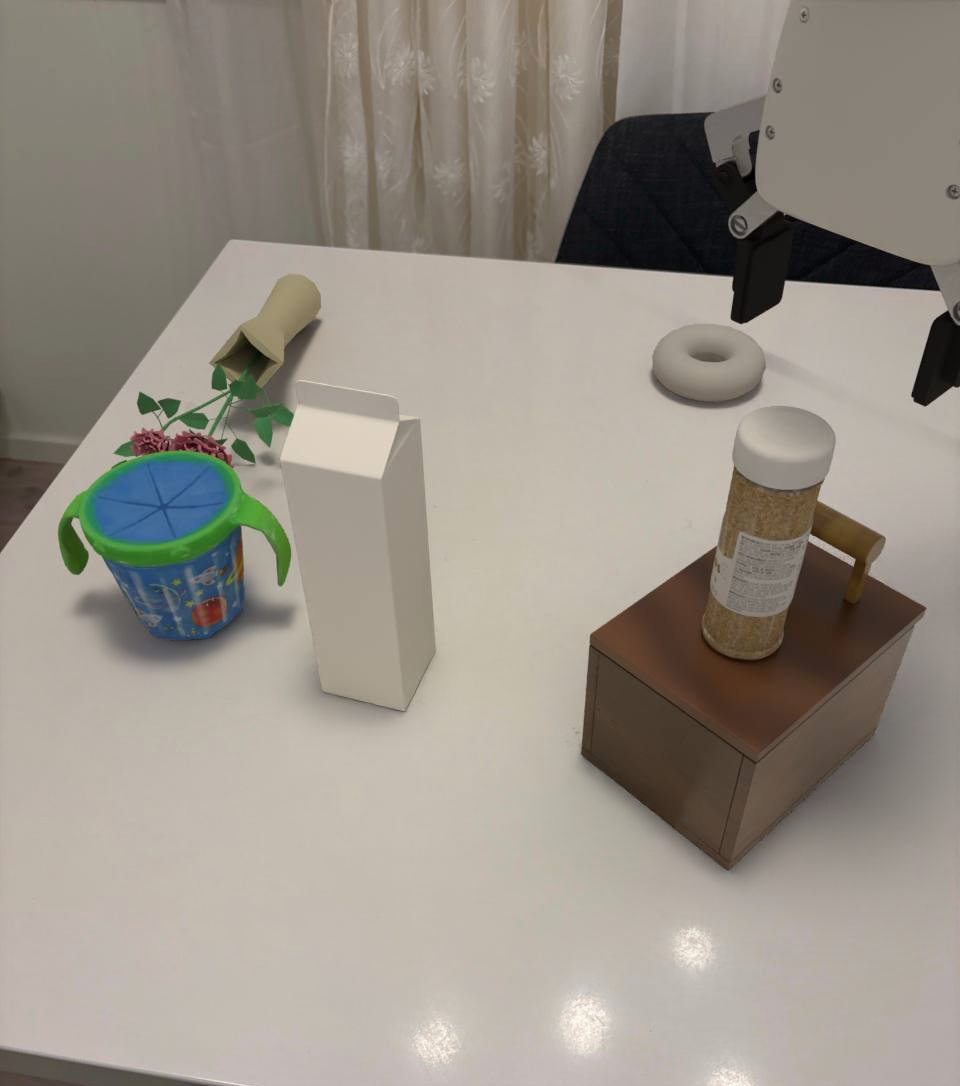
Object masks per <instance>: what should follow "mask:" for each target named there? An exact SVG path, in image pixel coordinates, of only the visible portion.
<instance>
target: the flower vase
mask: <svg viewBox="0 0 960 1086" xmlns="http://www.w3.org/2000/svg"><path fill="white" fill-rule="evenodd" d="M321 309H322V295H321V293H320V291H319V289H318V287H317V286H316V283H315V282H314V281H312V280H311V279H309V278H308V277H306V276H305V275H303V274H298V273H288V274H285V275H284V276H282V277H280V278H278V279H277V280H276V282H275V284H274V286H273V288H272V290H271V291H270V293H269V295H268V297H267V298H266V300H265V302H264V304H263V305H262V307H261V309H260V311H259V312H258V314H257V315H256V316H254V317H252V318H250V319H249V320H247V321H245V322H243V323H241V324H239V326H238V327H237V328H236V329H235V330H234V332H233V333H232V334H231V336H230V337H229V338H228V339H227V340H226V341H225V343H224V344H223V346H222V347H220V349H219V350H218V351H217V352H216V354H215V355H214V356H213V357H212V359H210V361H209V362H208V364H209V365H211V366H212V367H213V368H214V369H213V372H212V375H211V383H210V384H211V389H212V390H215V391H217V392H221V394H219V395H217V396H216V397H213V398H211V399H210V400H208V401H206V402H204V403H202V404H200V405H198V406H196V407H194V408H192V409H190V410H188V411H185V412H183V413H181V414H178V415H177V416H175V415H176V414H177V413H178V410H179V409H180V405H181V403H182V400H181V399H176V398H170V397H166V398H163V399H159V400H158V401H156V400H155V399H154V398H153V397H151V396H149V395H147V394H145V393H144V392H142V391H139V392H138V396H137V401H136V406H137V408H138V411H139V413H140V415H141V416H143V415H147V414H149V413H153V415H154V416H155V417H156V419H157V420H158V422H159V426H160V429H159V430H154V429H155V428H151V429H150V430H147V429H146V428H145V427H142V428H141V429H140V432H137V431H136V430H135V431H134V432H133V435H132V436H131V437H130V438H129V441H127V442H124V443H122V444H121V445H119V447H118V448H117V449H116V450H115V451H114V452H113V453H112V455H117V456H119V457H120V456H121V457H125V458H128V457H130V458H131V457H135V458H137V457H141V456H144V455H148V454H153V453H158V452H166V451H193V452H199V453H204V454H208V455H210V456H213V457H216V458H218V459H220V460H222V461H223V462H225V463H226V464H228V465H229V466H230V467H231V468H232V469H234V468H235V466H234V464H232V461H233V454H232V453H229V454H227V452H226V450H227V447H226V446H225V445H224V444H225V443H226V442H227V441H228V438H223V437H224V434H225V433H224V432H225V429H226V425H227V427H228V428H229V430H230V431H231V432H232V434H233V435H234V437H235V440H234V441H233V443H231V445H230V447H231V449H232V450H233V452H234V453H235V454H236V455H238V456H239V457H240V458H241V459H242V460H244V461H247V462H250V463H252V464H255V465H256V464H257V462H256V456H255V453H254V452H253V451H252V450H251V448H250V447H249V445H248V443H247V442H246V441H245V440H242V439H240V438H238V437H237V435H236V434H235V432H234V430H232V429H231V427H230V425H229V423H228V422H227V420H228V417H229V413H230V410H231V408H235V409H241V410H246V411H249V412H250V413H251V414H252V415H254V416H255V417H257V418H255V419H254V420H253V424H254V429H255V431H256V434H257V436H258V438H259V439H260V440H261V441H262V442H263V443H264V444H265V445H266V446H267V447H268V448H269V449H271V445H272V441H273V436H274V433H273V424H272V421H274V422H275V423H276V424H279V425H282V426H284V427H287V428H288V427H289V428H290V426H291V423H292V420H293V417H294V414H295V413H293V412H292V411H290V410H289V409H288V408H287V407H286V406H284V405H283V402H278V403H273V404H271V403H272V402H270V399H269V397H268V394H267V393H266V391H265V389H263V387H264V386H265V385H266V384H267V383H268V381H269V380H270V379H271V378H272V377H273V376H274V375H275V373H276V372H277V371H278V370H279V369H280V368H281V367H282V365H283V364H284V363H285V361H284V360H285V348H286V346H287V345H288V344H289V343H290V342H291V340H293V338H294V337H295V336H296V335H297V334H298V333H299V332H301V331H302V330H303V329H304V328H305V327H307V326H308V325H310V324H311V322H313V321H314V320H316V318H317V316H318V314H319V312H320V310H321ZM227 380H228V381H229V382H230V383H228V381H227ZM228 388H229V389H228ZM224 391H225V392H224ZM263 393H264V394H263ZM258 394H261V398H262V406H261V407H258V408H246V407H240V406H234V404H236V403H239V402H241V401H255V400H257V395H258ZM228 395H229V396H228ZM263 395H265V397H266V399H267V401H268V403H269V404H267V405H265V402H264V396H263ZM224 397H226V400H225V402H224V403H223V405H222V407H221V409H220V410H219V413H218V414H217V417H216V418H211V419H209V418H208V417H207V416H206V414H205V413H204V412H198V411H200V410H201V409H204V408H205V407H207V406H209V405H211V404H213V403H214V402H217V401H219V400H220V399H222V398H224ZM234 397H237V399H238V400H236V401H234V402H233V400H234ZM227 409H228V410H227ZM160 410H161V411H160ZM226 410H227V414H226V416H224V414H225V412H226ZM157 411H160V412H159V414H158V415H157V413H156V412H157ZM163 412H164V414H165V416H166V418H167V419H168V420H169V419H170V420H169V421H167V423H165V424H164V425H163V424H162V421H161V420H160V418H159V417H160V416H161V414H162V413H163ZM270 415H271V416H270ZM223 416H224V417H223ZM171 418H172V419H171ZM223 419H224V421H225V422H224V425H223V429H222V433H221V438H220V439H215V437H213V434H214V433H215V430H216V429H217V427H218V425H219V423H220V421H221V420H223ZM213 420H214V422H213V424H212V426H211V428H210V430H209V432H208V434H207V435H205V434H202V433H201V432H200V431H199V432H196V433H195V431H193V430H192V428H193V429H196V430H203V431H204V430H206V428H207V426H208V425H209V422H210V421H213ZM177 421H180V422H182V423H183V424H184V425H185V426H187V427H188V431H187V430H182V431H181V433H182V434H179V432H176V433H175V437H174V438H172V437H171V435H165V432H166V430H167V429H168V428H169V427H170V425H172V424H173V423H175V422H177ZM127 461H128V460H127V459H124V460H121V461H119V462H118V463H116V464H115V465H113V466H111V469H112V468H114V467H116V466H118V465H120V464H122V463H124V462H127ZM111 469H110V470H111Z"/></svg>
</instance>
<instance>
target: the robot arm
mask: <svg viewBox="0 0 960 1086" xmlns="http://www.w3.org/2000/svg"><path fill="white" fill-rule="evenodd" d="M779 35H780V36H779V39H778V44H777V47H776V52H775V56H774V60H773V64H772V68H771V73H770V77H769V82H768V85H767V91H766V93H764V94H761V95H759V96H755V97H752V98H749V99H747V100H744V101H741V102H738V103H734V104H732V105H728V106H725V107H724V108H722V109H719V110H717V111H715V112H713V113H711V114H709V115H706V117H705V119H704V123H703V126H704V127H703V128H704V132H705V136H706V140H707V144H708V148H709V152H710V156H711V160H712V163H715V168H714V169H715V170H714V172H713V181H714V184H715V186H716V188H717V190H718V193H719V194H720V196H721V198H722V200H723V202H724V203H725V206H726V208H727V209H728V211H729V213H730V215H729V218H728V220H727V222H728V223H727V224H728V229H729V232H730V234H732V236H733V237H734V238H736V239H737V246H736V247H737V248H736V255H735V263H734V269H733V275H732V284H731V290H732V292H733V294H732V295H733V296H732V303H731V309H730V316H729V317H730V320H731V321H732V322H735V323H737V324H739V325H743V324H748V323H749V322H751V321H753V320H754V319H756V318H757V317H759V316H762V315H763V314H765V313H766V312H767V311H769V310H771V309H772V308H775V307H776V306H777V305H779V304H780V303H781V302H782V300H783V296H784V290H785V284H786V280H787V279H786V278H787V273H788V267H789V262H790V256H791V250H792V245H793V240H794V229H793V227H794V222H793V221H790V220H788V219H785V218H786V217H785V216H786V215H788V216H790V217H793V218H795V219H797V220H800V221H803V222H805V223H808V224H811V225H813V226H816V227H818V228H821V229H824V230H825V231H826V230H827V231H829V232H831V233H835V234H837V235H840V236H843V237H845V238H847V239H851V240H854V241H855V242H859V243H862V244H864V245H867V246H869V247H871V248H872V247H873V248H875V249H877V250H881V251H883V252H886V253H889V254H892V255H894V256H897V257H900V258H903V259H906V260H909V261H912V262H915V263H918V264H922V265H928V266H930V269H931V271H932V273H933V276H934V279H935V281H936V282H937V283H936V284H937V286H938V288H939V291H940V293H941V295H942V296H941V297H942V299H943V300H944V303H945V306H946V308H947V310H945V311H944V312H943V313H941V314H939V315H938V316H936V318H934V320H933V321H932V323H931V325H930V328H929V331H928V335H927V339H926V342H925V345H924V349H923V353H922V356H921V360H920V363H919V366H918V369H917V373H916V376H915V380H914V383H913V386H912V390H911V392H910V393H911V394H910V396H911V398H913V399H912V401H913V402H914V403H916V404H918V405H920V406H922V407H928V406H929V405H930V404H932V403H933V402H934V401H936V400H937V399H938V398H940V397H941V396H942V395H944V394H946V392H948V391H949V390H951V389H953V388H956V389H959V388H960V0H790V2H789V5H788V8H787V11H786V14H785V18H784V22H783V25H782V28H781V32H780V34H779ZM757 131H759V133H758V140H757V148H756V157H754V156H753V155H752V154H750V151H749V150H750V149H751V147H750V142H749V141H750V140H749V137H750V134H751V133H754V132H757Z"/></svg>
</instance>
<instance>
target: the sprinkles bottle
mask: <svg viewBox="0 0 960 1086" xmlns="http://www.w3.org/2000/svg"><path fill="white" fill-rule="evenodd" d="M836 442H837V438H836V433H835V431H834V429H833V427H832V426H831V424H829V422H828V421H827V420H825V419H824V418H823V417H822V416H820V415H818V414H816V413H814V412H812V411H810V410H807V409H804V408H800V407H795V406H788V405H770V406H764V407H760V408H756V409H754V410H752V411H750V412H749V413H747V414H746V415H745V416H744V417H742V419H741V420H740V421H739V423H738V425H737V429H736V432H735V437H734V443H733V447H732V453H731V454H732V455H731V456H732V457H731V459H732V463H733V469H732V475H731V480H730V484H729V491H728V494H727V501H726V506H725V511H724V513H723V516H722V521H721V525H720V530H719V535H718V540H717V545H716V546H717V550H716V555H715V560H714V565H713V570H712V575H711V581H710V587H711V588H710V593H709V598H708V604H707V607H706V612H705V614H704V615H703V618H702V624H701V628H702V632H703V635H704V638H705V640H706V641H707V642H708V643H709V644H710V646H711V647H713V648H714V649H715V650H717V651H718V652H720V653H722V654H724V655H726V656H729V657H732V658H739V659H744V660H755V659H762V658H764V657H767V656H769V655H770V654H772V653H774V652H775V651H776V650H777V649H778V648H779V647H780V645H781V644H782V641H783V636H784V628H783V627H784V624H785V620H786V614H787V611H788V608H789V605H790V603H791V601H792V599H793V595H794V592H795V588H796V584H797V580H798V577H799V573H800V569H801V566H802V562H803V558H804V554H805V551H806V547H807V543H808V541H809V539H810V535H811V534H810V532H811V528H812V524H813V515H814V510H815V507H816V503H817V500H819V499H818V498H819V495H820V491H821V488H822V485H823V484H824V481H825V480H826V477H827V476H828V474H829V472H830V470H831V466H832V461H833V458H834V453H835V449H836V444H837V443H836Z"/></svg>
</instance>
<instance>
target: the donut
mask: <svg viewBox="0 0 960 1086" xmlns="http://www.w3.org/2000/svg"><path fill="white" fill-rule="evenodd" d="M765 357H766V356H765V353H764V350H763V348H762V347H761V345H759V343H758V342H757V341H756V340H755V339H754V338H753V337H752V336H750V335H749V334H747V333H745V332H744V331H742V330H739V329H737V328H734V327H731V326H727V325H722V324H715V323H696V324H689V325H684V326H681V327H679V328H676V329H673V330H672V331H670V332H668V333H667V334H666V335H664V336H663V337H661V339H660V340H659V341H658V342H657V344H656V346H655V348H654V350H653V352H652V355H651V359H652V370H653V373H654V375H655V377H656V378H657V380H658V381H659V383H660V384H661V385H662V386H664V388H666V389H667V390H669V391H670V392H672V393H673V394H676V395H678V396H680V397H683V398H686V399H688V400H695V401H699V402H724V401H730V400H735V399H737V398H740V397H741V396H742V397H743V395H744V396H745V395H747V394H748V393H750V392H751V391H752V390H753V389H755V388H756V386H758V385H759V383H761V380H762V378H763V375H764V373H765V370H766V368H767V362H766V358H765Z"/></svg>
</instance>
